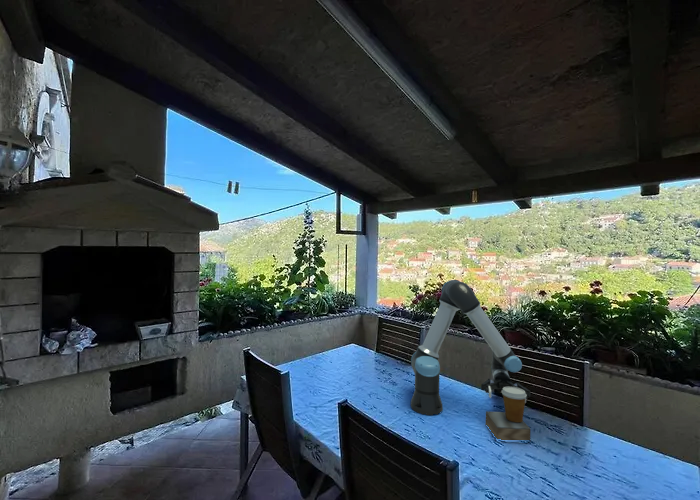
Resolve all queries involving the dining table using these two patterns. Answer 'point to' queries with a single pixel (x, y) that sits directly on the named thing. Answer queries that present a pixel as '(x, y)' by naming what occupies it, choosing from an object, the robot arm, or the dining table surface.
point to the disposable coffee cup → (514, 403)
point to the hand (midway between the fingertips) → (507, 397)
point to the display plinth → (506, 427)
